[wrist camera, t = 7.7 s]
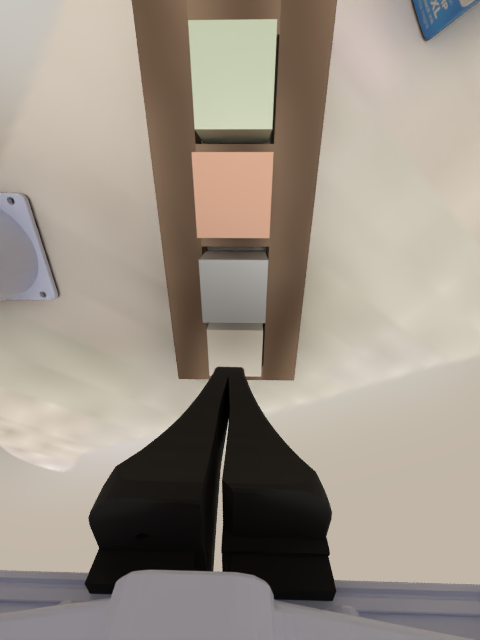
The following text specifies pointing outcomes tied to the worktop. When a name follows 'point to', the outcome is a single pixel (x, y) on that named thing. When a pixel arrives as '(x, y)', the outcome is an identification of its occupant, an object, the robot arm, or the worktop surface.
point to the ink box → (439, 13)
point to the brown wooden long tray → (286, 142)
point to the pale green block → (233, 79)
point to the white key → (235, 346)
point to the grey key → (233, 286)
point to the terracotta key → (232, 194)
